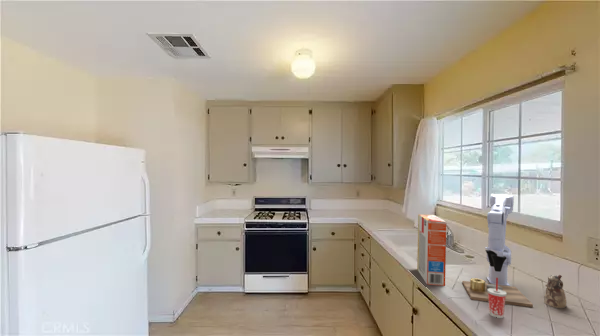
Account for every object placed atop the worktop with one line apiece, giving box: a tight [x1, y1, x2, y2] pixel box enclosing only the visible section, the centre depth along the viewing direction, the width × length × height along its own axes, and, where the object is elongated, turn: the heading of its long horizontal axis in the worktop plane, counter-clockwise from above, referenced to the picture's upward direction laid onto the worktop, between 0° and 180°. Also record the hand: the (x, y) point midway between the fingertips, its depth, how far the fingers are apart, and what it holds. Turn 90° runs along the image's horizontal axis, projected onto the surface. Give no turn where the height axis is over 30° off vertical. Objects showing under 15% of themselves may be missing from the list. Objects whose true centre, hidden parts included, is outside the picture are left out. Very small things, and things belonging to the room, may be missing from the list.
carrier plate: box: [461, 280, 534, 308], centre depth 138 cm, size 20×22×5 cm
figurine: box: [543, 274, 567, 309], centre depth 128 cm, size 7×7×12 cm
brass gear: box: [469, 277, 486, 292], centre depth 140 cm, size 6×6×4 cm
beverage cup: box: [487, 278, 506, 319], centre depth 117 cm, size 6×6×14 cm
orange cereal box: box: [416, 213, 447, 287], centre depth 159 cm, size 23×8×30 cm, turn 170°
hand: (495, 268), depth 140 cm, fingers open, 7 cm apart
